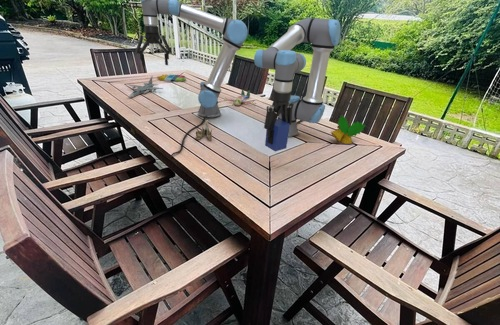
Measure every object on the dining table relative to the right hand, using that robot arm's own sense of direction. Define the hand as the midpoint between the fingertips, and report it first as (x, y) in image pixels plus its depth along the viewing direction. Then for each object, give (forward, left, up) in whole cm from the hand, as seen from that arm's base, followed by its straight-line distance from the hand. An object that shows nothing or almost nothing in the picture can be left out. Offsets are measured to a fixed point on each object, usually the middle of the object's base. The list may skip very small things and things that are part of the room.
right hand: (276, 141), depth 119 cm
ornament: (-61, -1, -14) cm, 63 cm away
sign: (-35, -199, -14) cm, 202 cm away
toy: (-53, -97, -14) cm, 112 cm away
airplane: (+8, -157, -14) cm, 158 cm away
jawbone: (+10, -48, -14) cm, 51 cm away
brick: (0, 0, -3) cm, 3 cm away
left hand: (+21, -87, +20) cm, 92 cm away
